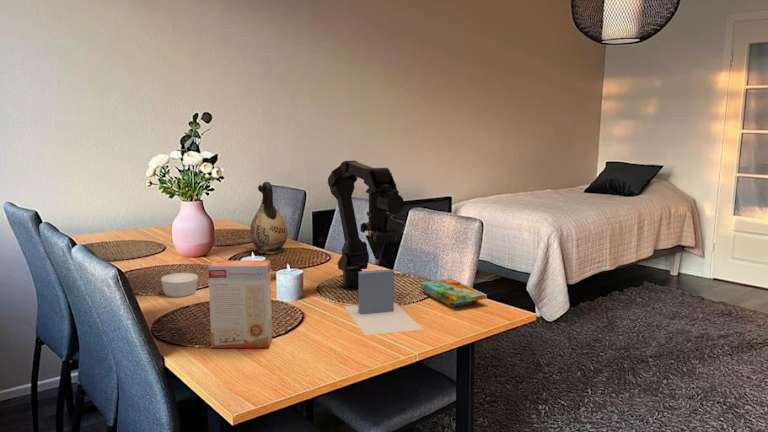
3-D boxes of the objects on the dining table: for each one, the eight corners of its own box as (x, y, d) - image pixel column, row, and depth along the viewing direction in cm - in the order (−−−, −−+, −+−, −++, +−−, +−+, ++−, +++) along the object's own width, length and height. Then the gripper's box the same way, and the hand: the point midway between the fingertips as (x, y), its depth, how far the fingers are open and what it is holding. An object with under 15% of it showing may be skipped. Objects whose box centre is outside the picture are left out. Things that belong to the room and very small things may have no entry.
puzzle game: (450, 275, 192) (487, 292, 175) (449, 289, 193) (486, 307, 175) (420, 279, 187) (454, 296, 169) (419, 293, 188) (454, 312, 170)
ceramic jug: (246, 249, 245) (244, 179, 240) (282, 246, 252) (281, 178, 247) (255, 258, 230) (253, 183, 225) (293, 255, 237) (292, 182, 232)
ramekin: (186, 299, 177) (186, 283, 177) (154, 297, 180) (153, 280, 179) (205, 289, 188) (204, 273, 187) (174, 287, 190) (173, 271, 190)
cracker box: (272, 339, 146) (271, 259, 143) (268, 349, 140) (267, 265, 137) (216, 339, 146) (214, 259, 142) (210, 349, 140) (207, 265, 136)
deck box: (358, 311, 167) (358, 271, 165) (391, 308, 170) (391, 269, 168) (360, 314, 165) (360, 273, 163) (393, 311, 168) (394, 271, 166)
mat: (343, 307, 172) (343, 306, 172) (394, 303, 176) (394, 302, 176) (365, 336, 149) (365, 335, 149) (423, 330, 154) (423, 329, 154)
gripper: (413, 213, 168) (412, 265, 171) (393, 204, 186) (392, 251, 188) (377, 214, 165) (376, 267, 168) (360, 205, 183) (359, 253, 185)
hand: (377, 259), depth 177 cm, fingers closed
